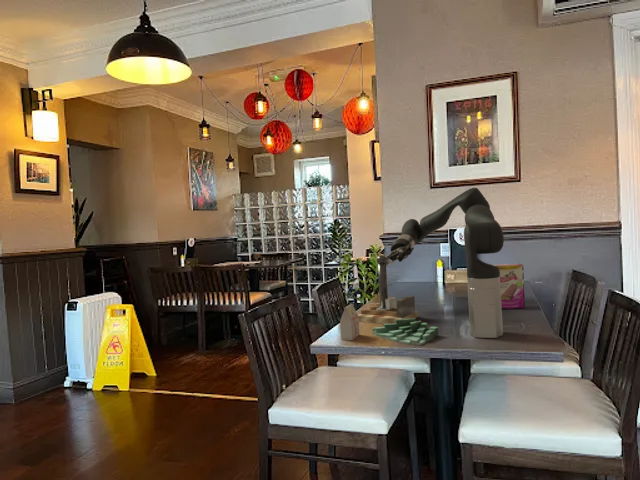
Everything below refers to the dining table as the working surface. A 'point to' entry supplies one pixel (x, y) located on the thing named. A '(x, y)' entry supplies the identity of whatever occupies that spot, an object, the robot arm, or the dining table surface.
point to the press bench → (385, 317)
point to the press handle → (384, 287)
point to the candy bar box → (512, 285)
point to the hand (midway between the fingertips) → (390, 264)
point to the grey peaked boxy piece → (349, 323)
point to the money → (406, 332)
